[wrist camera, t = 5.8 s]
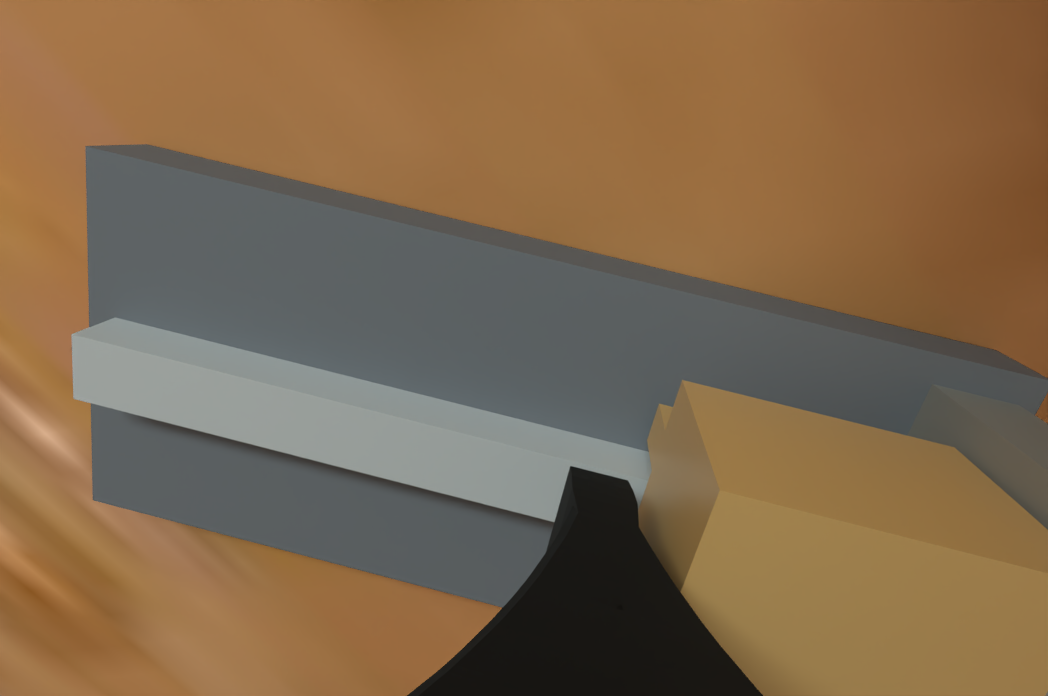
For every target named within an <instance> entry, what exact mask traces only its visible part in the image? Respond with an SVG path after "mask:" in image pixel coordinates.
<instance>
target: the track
mask: <svg viewBox="0 0 1048 696" xmlns="http://www.w3.org/2000/svg"><path fill="white" fill-rule="evenodd" d="M86 189H87V237H88V286H89V328H87V329H84V330H81V331H79V332H76V333H74V334H72V363H73V395H74V399H77V400H80V401H84V402H88V403H91V432H92V481H93V500H94V501H98V502H102V503H106V504H110V505H113V506H117V507H121V508H125V509H129V510H133V511H136V512H140V513H144V514H148V515H152V516H155V517H159V518H163V519H167V520H171V521H175V522H178V523H182V524H186V525H190V526H194V527H197V528H201V529H205V530H209V531H213V532H217V533H220V534H224V535H228V536H232V537H236V538H239V539H243V540H247V541H251V542H255V543H259V544H262V545H266V546H270V547H274V548H278V549H281V550H285V551H289V552H293V553H297V554H301V555H304V556H308V557H312V558H316V559H320V560H324V561H327V562H331V563H335V564H339V565H343V566H346V567H350V568H354V569H358V570H362V571H366V572H369V573H373V574H377V575H381V576H385V577H388V578H392V579H396V580H400V581H404V582H408V583H411V584H415V585H419V586H423V587H427V588H430V589H434V590H438V591H442V592H446V593H450V594H453V595H457V596H461V597H465V598H469V599H472V600H476V601H480V602H484V603H488V604H492V605H495V606H499V607H504V606H505V605H506V604H507V603H508V601H509V600H510V599H511V598H512V597H513V596H514V594H515V593H516V592H517V591H518V590H519V588H520V587H521V586H522V585H523V583H524V582H525V581H526V580H527V578H528V577H529V576H530V575H531V573H532V572H533V570H534V569H535V567H536V566H537V565H538V563H539V562H540V560H541V559H542V558H543V556H544V555H545V553H546V550H547V547H548V543H549V540H550V536H551V532H552V529H553V525H554V522H555V518H556V515H557V511H558V508H559V504H560V501H561V497H562V493H563V490H564V486H565V483H566V479H567V476H568V472H569V469H570V466H573V467H577V468H581V469H585V470H589V471H593V472H597V473H601V474H605V475H609V476H613V477H617V478H621V479H625V480H628V481H629V483H630V485H631V487H632V489H633V491H634V494H635V497H636V500H637V503H638V510H639V507H640V504H641V501H642V498H643V495H644V492H645V489H646V486H647V483H648V480H649V477H650V474H651V471H652V469H651V462H650V456H649V450H648V443H647V439H648V436H649V433H650V430H651V426H652V423H653V420H654V417H655V414H656V411H657V408H658V405H659V404H663V405H667V406H671V407H673V406H674V403H675V400H676V397H677V394H678V391H679V388H680V385H681V382H682V380H685V381H689V382H693V383H697V384H701V385H705V386H709V387H713V388H717V389H721V390H725V391H729V392H733V393H737V394H741V395H745V396H749V397H753V398H757V399H761V400H766V401H770V402H774V403H778V404H782V405H786V406H790V407H794V408H798V409H802V410H806V411H810V412H814V413H818V414H822V415H826V416H830V417H834V418H838V419H842V420H846V421H850V422H854V423H858V424H862V425H866V426H870V427H874V428H878V429H883V430H887V431H891V432H895V433H899V434H903V435H907V436H911V437H915V438H919V439H923V440H927V441H931V442H935V443H939V444H943V445H947V446H951V447H955V448H956V449H957V450H958V451H959V452H960V453H962V454H963V455H964V456H965V457H966V458H967V459H968V460H969V461H971V462H972V463H973V464H974V465H975V466H976V467H977V468H978V469H980V470H981V471H982V472H983V473H984V474H985V475H986V476H988V477H989V478H990V479H991V480H992V481H993V482H994V483H995V484H997V485H998V486H999V487H1000V488H1001V489H1002V490H1003V491H1005V492H1006V493H1007V494H1008V495H1009V496H1010V497H1011V498H1012V499H1014V500H1015V501H1016V502H1017V503H1018V504H1019V505H1020V506H1021V507H1023V508H1024V509H1025V510H1026V511H1027V512H1028V513H1029V514H1031V515H1032V516H1033V517H1034V518H1035V519H1036V520H1037V521H1038V522H1040V523H1041V524H1042V525H1043V526H1044V527H1045V528H1046V529H1048V424H1047V423H1046V422H1044V421H1043V420H1041V419H1040V418H1038V417H1036V416H1035V414H1036V412H1037V410H1038V409H1039V407H1040V405H1041V403H1042V402H1043V400H1044V398H1045V396H1046V394H1047V393H1048V378H1046V377H1044V376H1042V375H1040V374H1039V373H1037V372H1035V371H1033V370H1031V369H1030V368H1028V367H1026V366H1024V365H1022V364H1020V363H1019V362H1017V361H1015V360H1013V359H1011V358H1009V357H1008V356H1006V355H1004V354H1002V353H1000V352H998V351H997V350H993V349H989V348H984V347H980V346H976V345H972V344H968V343H964V342H960V341H956V340H951V339H947V338H943V337H939V336H935V335H931V334H927V333H923V332H918V331H914V330H910V329H906V328H902V327H898V326H894V325H890V324H885V323H881V322H877V321H873V320H869V319H865V318H861V317H857V316H852V315H848V314H844V313H840V312H836V311H832V310H828V309H824V308H819V307H815V306H811V305H807V304H803V303H799V302H795V301H791V300H786V299H782V298H778V297H774V296H770V295H766V294H762V293H758V292H753V291H749V290H745V289H741V288H737V287H733V286H729V285H725V284H720V283H716V282H712V281H708V280H704V279H700V278H696V277H692V276H687V275H683V274H679V273H675V272H671V271H667V270H663V269H659V268H655V267H650V266H646V265H642V264H638V263H634V262H630V261H626V260H622V259H617V258H613V257H609V256H605V255H601V254H597V253H593V252H589V251H584V250H580V249H576V248H572V247H568V246H564V245H560V244H556V243H551V242H547V241H543V240H539V239H535V238H531V237H527V236H523V235H518V234H514V233H510V232H506V231H502V230H498V229H494V228H490V227H485V226H481V225H477V224H473V223H469V222H465V221H461V220H457V219H452V218H448V217H444V216H440V215H436V214H432V213H428V212H424V211H419V210H415V209H411V208H407V207H403V206H399V205H395V204H391V203H386V202H382V201H378V200H374V199H370V198H366V197H362V196H358V195H353V194H349V193H345V192H341V191H337V190H333V189H329V188H325V187H321V186H316V185H312V184H308V183H304V182H300V181H296V180H292V179H288V178H283V177H279V176H275V175H271V174H267V173H263V172H259V171H255V170H250V169H246V168H242V167H238V166H234V165H230V164H226V163H222V162H217V161H213V160H209V159H205V158H201V157H197V156H193V155H189V154H184V153H180V152H176V151H172V150H168V149H164V148H160V147H156V146H151V145H147V144H145V145H108V146H86ZM1045 696H1048V692H1047V693H1046V695H1045Z"/></svg>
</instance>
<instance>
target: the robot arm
mask: <svg viewBox="0 0 1048 696" xmlns="http://www.w3.org/2000/svg"><path fill="white" fill-rule="evenodd" d="M407 696H763V695H762V694H761V692H760V691H759V690H758V689H757V688H756V687H755V686H754V684H753V683H752V682H751V681H750V680H749V679H748V677H747V676H746V675H745V674H744V673H743V672H742V670H741V669H740V668H739V667H738V666H737V664H736V663H735V662H734V661H733V660H732V659H731V657H730V656H729V655H728V654H727V653H726V652H725V650H724V649H723V648H722V647H721V646H720V644H719V643H718V642H717V641H716V639H715V638H714V637H713V636H712V634H711V633H710V632H709V630H708V629H707V628H706V627H705V625H704V624H703V623H702V621H701V620H700V619H699V617H698V616H697V614H696V613H695V612H694V610H693V609H692V608H691V606H690V605H689V603H688V602H687V601H686V599H685V598H684V596H683V595H682V594H681V592H680V591H679V590H678V588H677V587H676V585H675V584H674V582H673V581H672V579H671V578H670V576H669V575H668V573H667V572H666V570H665V569H664V567H663V566H662V564H661V563H660V561H659V559H658V558H657V556H656V555H655V553H654V551H653V550H652V548H651V547H650V545H649V543H648V542H647V540H646V538H645V536H644V535H643V533H642V531H641V530H640V528H639V518H638V503H637V500H636V497H635V494H634V491H633V489H632V487H631V485H630V483H629V481H628V480H625V479H621V478H617V477H613V476H609V475H605V474H601V473H597V472H593V471H589V470H585V469H581V468H577V467H573V466H570V469H569V472H568V476H567V479H566V483H565V486H564V490H563V493H562V497H561V501H560V504H559V508H558V511H557V515H556V518H555V522H554V525H553V529H552V532H551V536H550V540H549V543H548V547H547V550H546V553H545V555H544V556H543V558H542V559H541V560H540V562H539V563H538V565H537V566H536V567H535V569H534V570H533V572H532V573H531V575H530V576H529V577H528V578H527V580H526V581H525V582H524V583H523V585H522V586H521V587H520V588H519V590H518V591H517V592H516V593H515V594H514V596H513V597H512V598H511V599H510V600H509V601H508V603H507V604H506V605H505V606H504V607H503V608H502V609H501V610H500V611H499V613H498V614H497V615H496V616H495V617H494V618H493V619H492V620H491V621H490V622H489V623H488V624H487V625H486V626H485V627H484V628H483V629H482V630H481V631H480V632H479V633H478V634H477V635H476V636H475V637H474V638H473V639H472V640H471V641H470V642H469V643H468V644H467V645H466V646H465V647H464V648H463V649H462V650H461V651H460V652H459V653H458V654H456V655H455V656H454V657H453V658H452V659H451V660H450V661H449V662H448V663H447V664H445V665H444V666H443V667H442V668H441V669H440V670H439V671H437V672H436V673H435V674H434V675H432V676H431V677H430V678H429V679H427V680H426V681H425V682H424V683H422V684H421V685H420V686H419V687H417V688H416V689H415V690H414V691H412V692H411V693H410V694H409V695H407Z"/></svg>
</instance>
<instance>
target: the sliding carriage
mask: <svg viewBox="0 0 1048 696" xmlns="http://www.w3.org/2000/svg"><path fill="white" fill-rule="evenodd" d="M647 443H648V450H649V456H650V462H651V469H652V471H651V474H650V477H649V480H648V483H647V486H646V489H645V492H644V495H643V498H642V501H641V504H640V507H639V510H638V518H639V528H640V530H641V531H642V533H643V535H644V536H645V538H646V540H647V542H648V543H649V545H650V547H651V548H652V550H653V551H654V553H655V555H656V556H657V558H658V559H659V561H660V563H661V564H662V566H663V567H664V569H665V570H666V572H667V573H668V575H669V576H670V578H671V579H672V581H673V582H674V584H675V585H676V587H677V588H678V590H679V591H680V592H681V594H682V595H683V596H684V598H685V599H686V601H687V602H688V603H689V605H690V606H691V608H692V609H693V610H694V612H695V613H696V614H697V616H698V617H699V619H700V620H701V621H702V623H703V624H704V625H705V627H706V628H707V629H708V630H709V632H710V633H711V634H712V636H713V637H714V638H715V639H716V641H717V642H718V643H719V644H720V646H721V647H722V648H723V649H724V650H725V652H726V653H727V654H728V655H729V656H730V657H731V659H732V660H733V661H734V662H735V663H736V664H737V666H738V667H739V668H740V669H741V670H742V672H743V673H744V674H745V675H746V676H747V677H748V679H749V680H750V681H751V682H752V683H753V684H754V686H755V687H756V688H757V689H758V690H759V691H760V692H761V694H762V695H763V696H1045V695H1046V693H1047V692H1048V529H1046V528H1045V527H1044V526H1043V525H1042V524H1041V523H1040V522H1038V521H1037V520H1036V519H1035V518H1034V517H1033V516H1032V515H1031V514H1029V513H1028V512H1027V511H1026V510H1025V509H1024V508H1023V507H1021V506H1020V505H1019V504H1018V503H1017V502H1016V501H1015V500H1014V499H1012V498H1011V497H1010V496H1009V495H1008V494H1007V493H1006V492H1005V491H1003V490H1002V489H1001V488H1000V487H999V486H998V485H997V484H995V483H994V482H993V481H992V480H991V479H990V478H989V477H988V476H986V475H985V474H984V473H983V472H982V471H981V470H980V469H978V468H977V467H976V466H975V465H974V464H973V463H972V462H971V461H969V460H968V459H967V458H966V457H965V456H964V455H963V454H962V453H960V452H959V451H958V450H957V449H956V448H955V447H951V446H947V445H943V444H939V443H935V442H931V441H927V440H923V439H919V438H915V437H911V436H907V435H903V434H899V433H895V432H891V431H887V430H883V429H878V428H874V427H870V426H866V425H862V424H858V423H854V422H850V421H846V420H842V419H838V418H834V417H830V416H826V415H822V414H818V413H814V412H810V411H806V410H802V409H798V408H794V407H790V406H786V405H782V404H778V403H774V402H770V401H766V400H761V399H757V398H753V397H749V396H745V395H741V394H737V393H733V392H729V391H725V390H721V389H717V388H713V387H709V386H705V385H701V384H697V383H693V382H689V381H685V380H682V382H681V385H680V388H679V391H678V394H677V397H676V400H675V403H674V406H673V407H671V406H667V405H663V404H659V405H658V408H657V411H656V414H655V417H654V420H653V423H652V426H651V430H650V433H649V436H648V439H647Z"/></svg>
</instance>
